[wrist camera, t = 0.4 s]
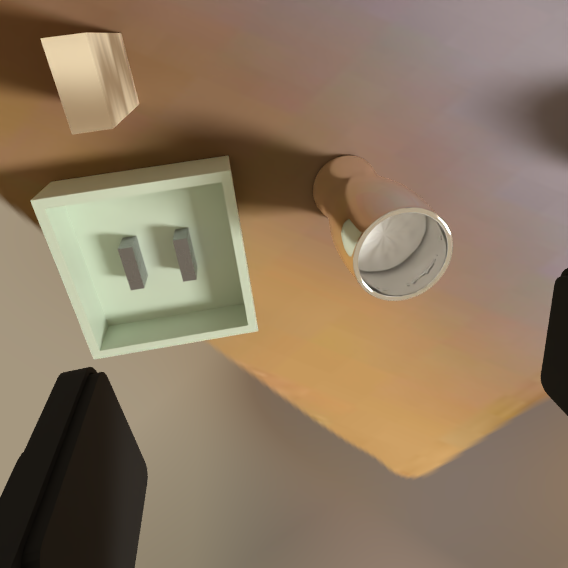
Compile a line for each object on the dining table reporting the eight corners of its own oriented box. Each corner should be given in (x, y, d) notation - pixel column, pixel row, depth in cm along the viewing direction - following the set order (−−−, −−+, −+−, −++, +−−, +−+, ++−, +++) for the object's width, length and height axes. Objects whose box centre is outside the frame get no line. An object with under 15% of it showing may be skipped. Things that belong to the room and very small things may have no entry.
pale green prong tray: (50, 181, 39) (30, 200, 34) (228, 155, 40) (230, 170, 35) (105, 328, 46) (93, 359, 42) (254, 303, 47) (258, 331, 42)
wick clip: (122, 237, 41) (117, 249, 39) (188, 227, 41) (186, 238, 39) (134, 277, 43) (130, 290, 40) (197, 267, 43) (196, 279, 41)
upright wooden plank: (88, 37, 34) (40, 38, 25) (121, 33, 34) (85, 32, 25) (108, 108, 37) (72, 134, 27) (139, 104, 37) (113, 128, 27)
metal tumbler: (293, 176, 41) (331, 243, 28) (362, 134, 40) (433, 182, 27) (329, 237, 45) (377, 321, 31) (393, 199, 44) (471, 269, 30)
